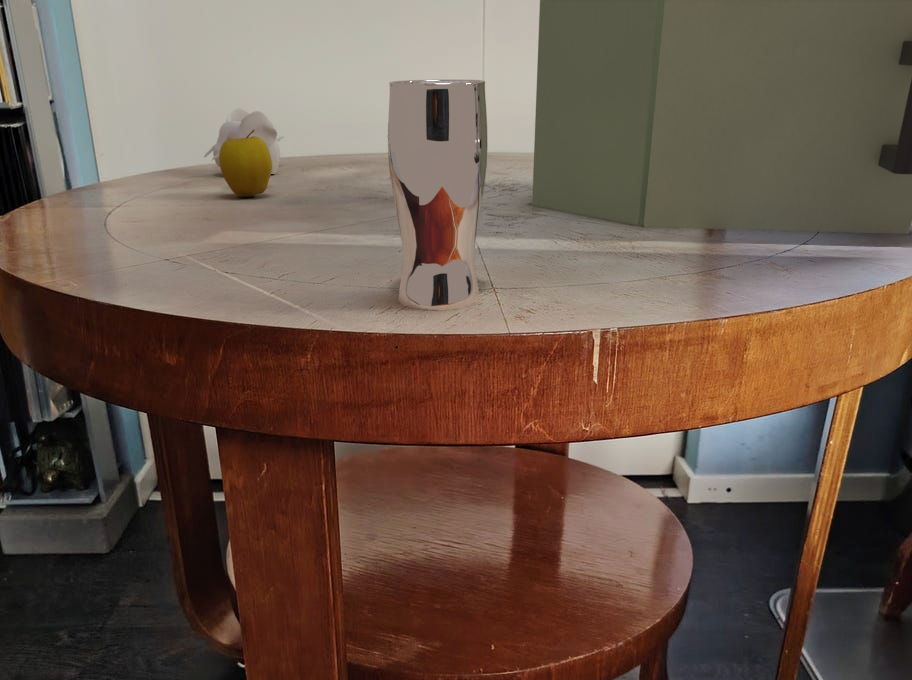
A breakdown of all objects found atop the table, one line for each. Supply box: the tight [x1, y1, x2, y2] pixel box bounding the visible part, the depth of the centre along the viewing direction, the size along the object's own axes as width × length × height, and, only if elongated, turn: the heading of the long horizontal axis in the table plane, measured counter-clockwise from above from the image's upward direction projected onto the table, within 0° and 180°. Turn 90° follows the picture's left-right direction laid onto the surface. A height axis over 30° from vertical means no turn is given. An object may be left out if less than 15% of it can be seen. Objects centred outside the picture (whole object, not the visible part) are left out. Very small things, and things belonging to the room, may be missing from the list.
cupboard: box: [531, 0, 665, 226], centre depth 95 cm, size 16×24×24 cm, turn 125°
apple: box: [219, 129, 272, 198], centre depth 113 cm, size 6×6×8 cm
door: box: [643, 0, 912, 235], centre depth 78 cm, size 7×24×24 cm, turn 79°
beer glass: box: [387, 79, 489, 312], centre depth 64 cm, size 7×7×15 cm
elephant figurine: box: [203, 108, 285, 175], centre depth 133 cm, size 10×12×9 cm
